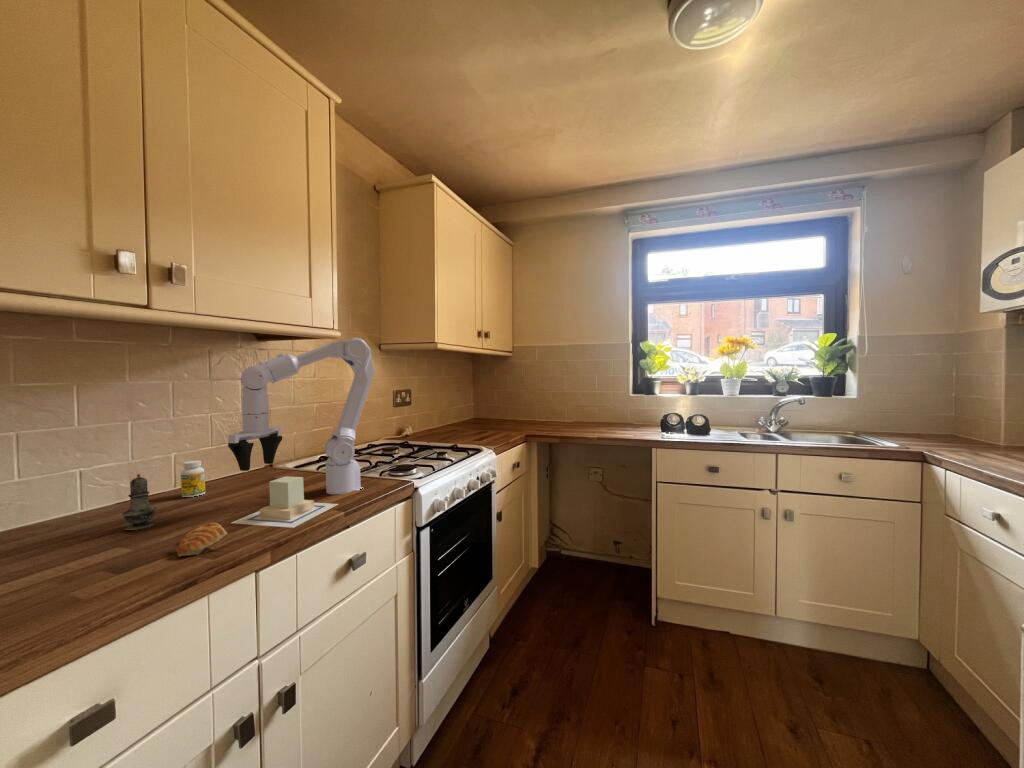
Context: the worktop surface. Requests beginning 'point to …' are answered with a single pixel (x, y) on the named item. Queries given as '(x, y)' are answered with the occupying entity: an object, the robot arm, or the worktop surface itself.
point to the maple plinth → (287, 511)
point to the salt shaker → (139, 505)
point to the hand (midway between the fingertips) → (257, 466)
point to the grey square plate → (256, 520)
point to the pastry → (200, 539)
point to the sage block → (286, 492)
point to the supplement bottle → (192, 479)
